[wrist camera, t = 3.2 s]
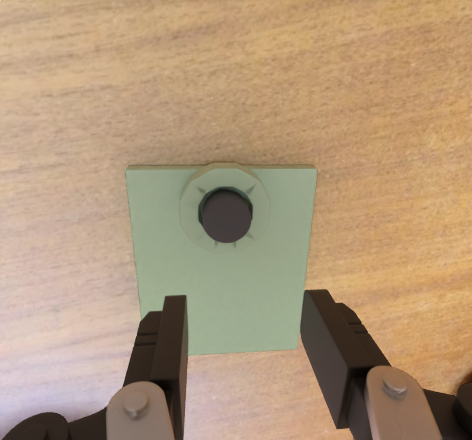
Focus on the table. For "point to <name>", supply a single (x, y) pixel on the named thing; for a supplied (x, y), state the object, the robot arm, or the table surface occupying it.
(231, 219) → the button
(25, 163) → the table surface
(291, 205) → the scale
